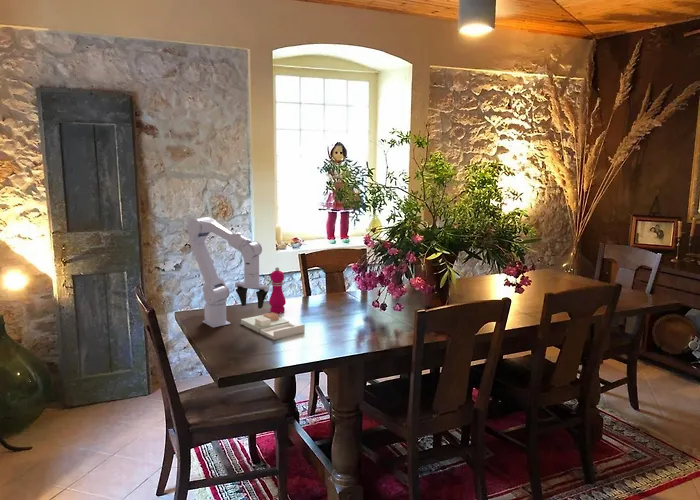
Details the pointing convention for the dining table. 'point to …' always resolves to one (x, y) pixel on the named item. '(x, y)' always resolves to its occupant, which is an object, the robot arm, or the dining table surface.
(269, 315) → the tile terracotta
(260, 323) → the tile cream
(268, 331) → the tray
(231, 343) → the dining table surface
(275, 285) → the pepper mill
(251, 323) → the board
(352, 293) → the dining table surface
